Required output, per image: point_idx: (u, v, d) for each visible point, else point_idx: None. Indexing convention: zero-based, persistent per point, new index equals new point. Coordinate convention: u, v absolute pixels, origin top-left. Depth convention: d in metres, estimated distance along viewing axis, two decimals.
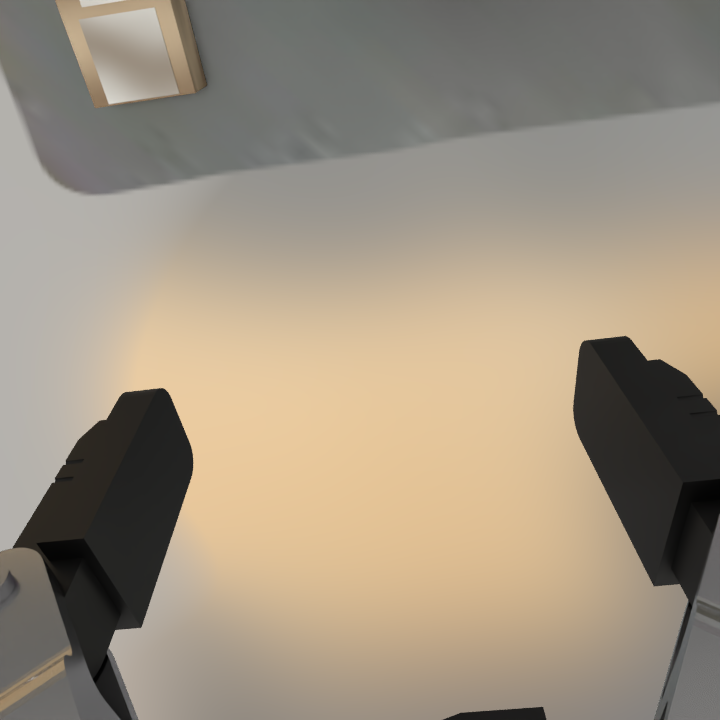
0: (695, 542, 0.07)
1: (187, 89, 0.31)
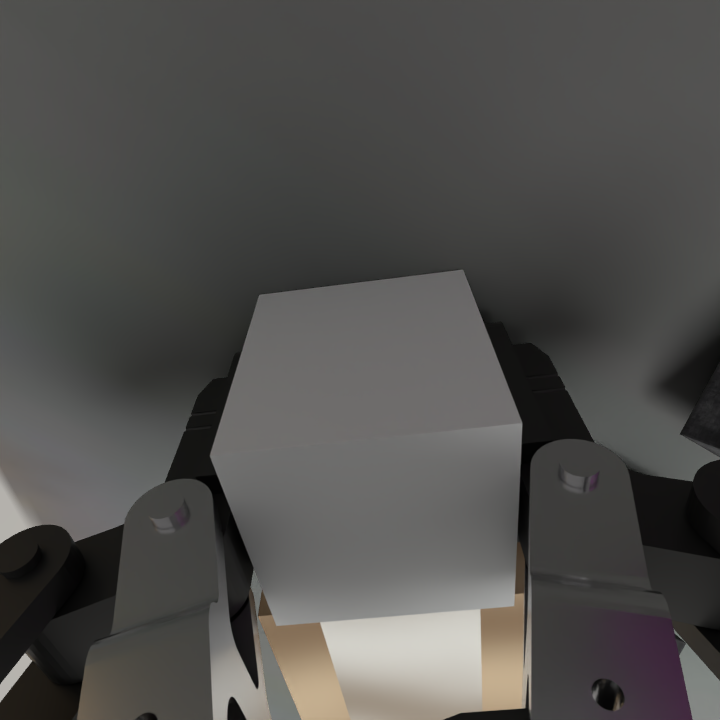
0: (521, 499, 0.08)
1: None
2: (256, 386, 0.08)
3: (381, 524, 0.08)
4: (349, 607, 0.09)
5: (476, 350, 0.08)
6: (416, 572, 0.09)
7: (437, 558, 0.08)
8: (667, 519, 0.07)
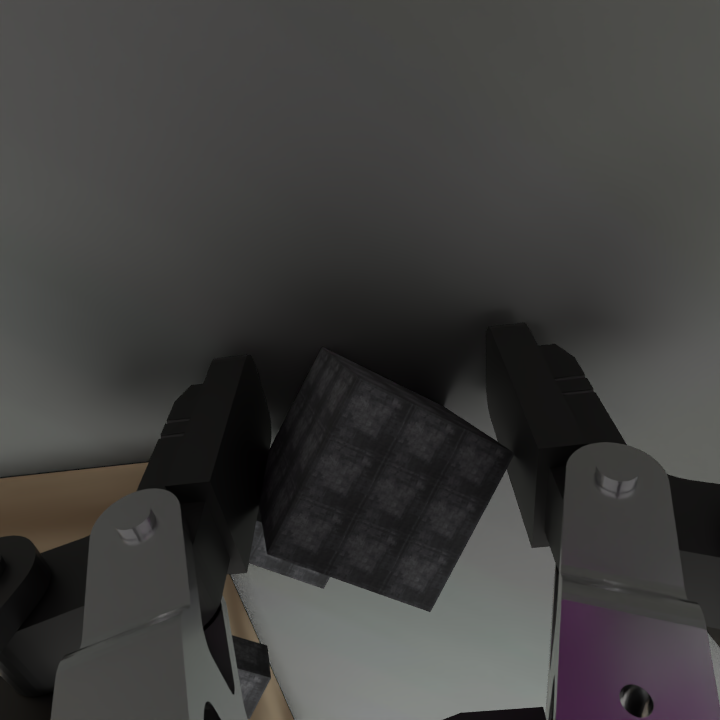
0: (553, 503, 0.08)
1: None
2: None
3: None
4: None
5: None
6: None
7: None
8: (707, 524, 0.07)
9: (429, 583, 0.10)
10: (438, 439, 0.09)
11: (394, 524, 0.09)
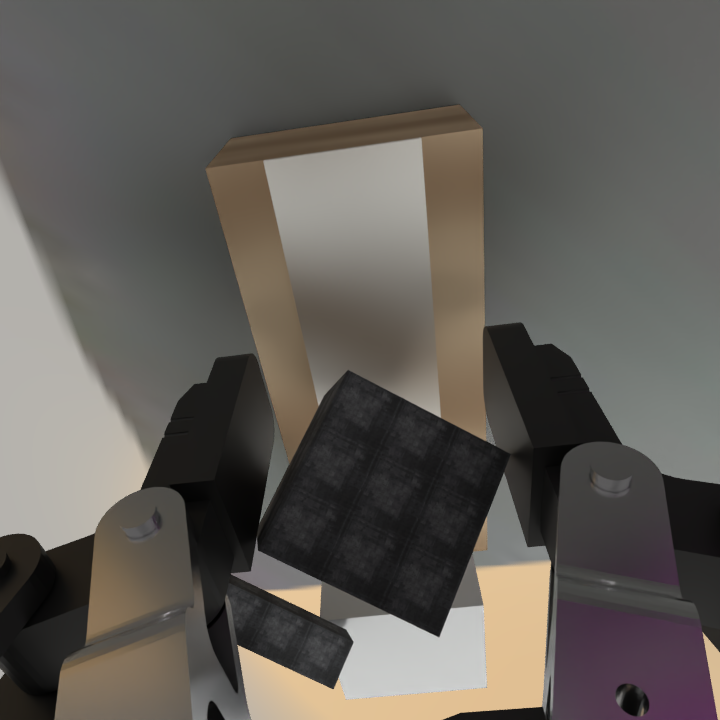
0: (548, 502, 0.08)
1: (476, 547, 0.19)
2: None
3: (410, 649, 0.14)
4: (389, 689, 0.15)
5: None
6: (429, 671, 0.15)
7: (440, 664, 0.15)
8: (701, 523, 0.07)
9: (435, 599, 0.09)
10: (430, 435, 0.09)
11: (391, 524, 0.09)
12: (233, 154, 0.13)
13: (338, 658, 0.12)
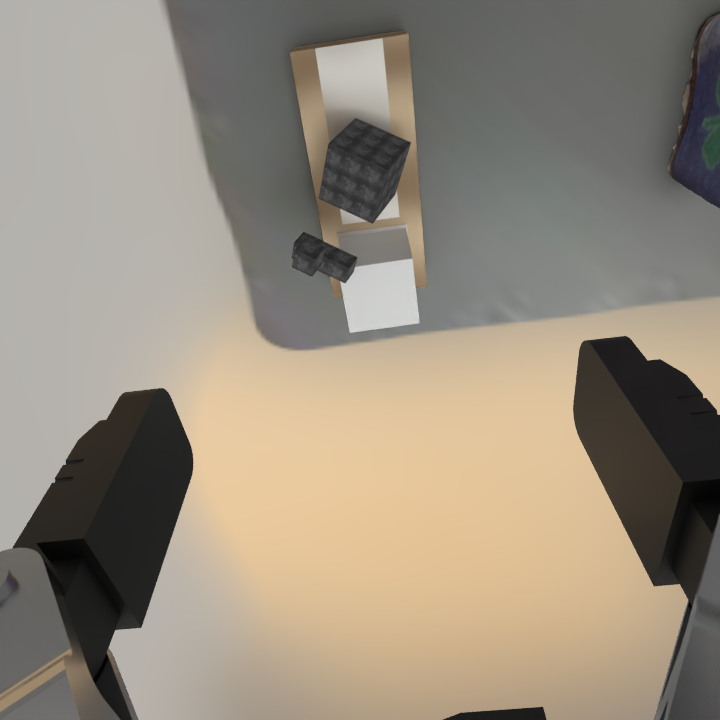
0: (695, 542, 0.07)
1: (420, 284, 0.35)
2: None
3: (380, 291, 0.30)
4: (371, 324, 0.31)
5: (405, 246, 0.30)
6: (390, 309, 0.31)
7: (395, 304, 0.31)
8: None
9: (386, 163, 0.26)
10: (383, 134, 0.28)
11: (370, 147, 0.27)
12: (299, 49, 0.28)
13: (351, 260, 0.28)
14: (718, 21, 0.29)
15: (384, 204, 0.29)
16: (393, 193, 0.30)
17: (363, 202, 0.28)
